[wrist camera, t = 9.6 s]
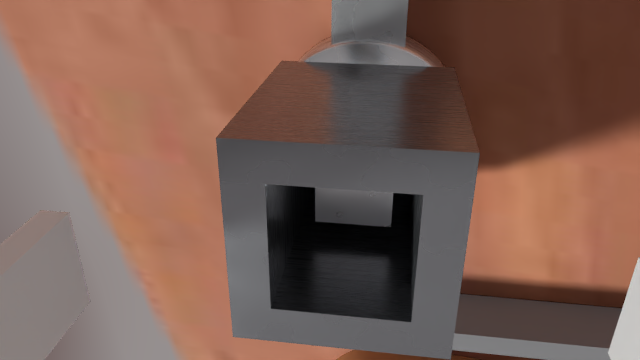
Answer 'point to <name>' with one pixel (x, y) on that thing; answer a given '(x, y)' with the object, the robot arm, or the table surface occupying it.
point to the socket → (349, 239)
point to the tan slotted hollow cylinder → (391, 356)
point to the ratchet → (365, 48)
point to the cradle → (534, 328)
